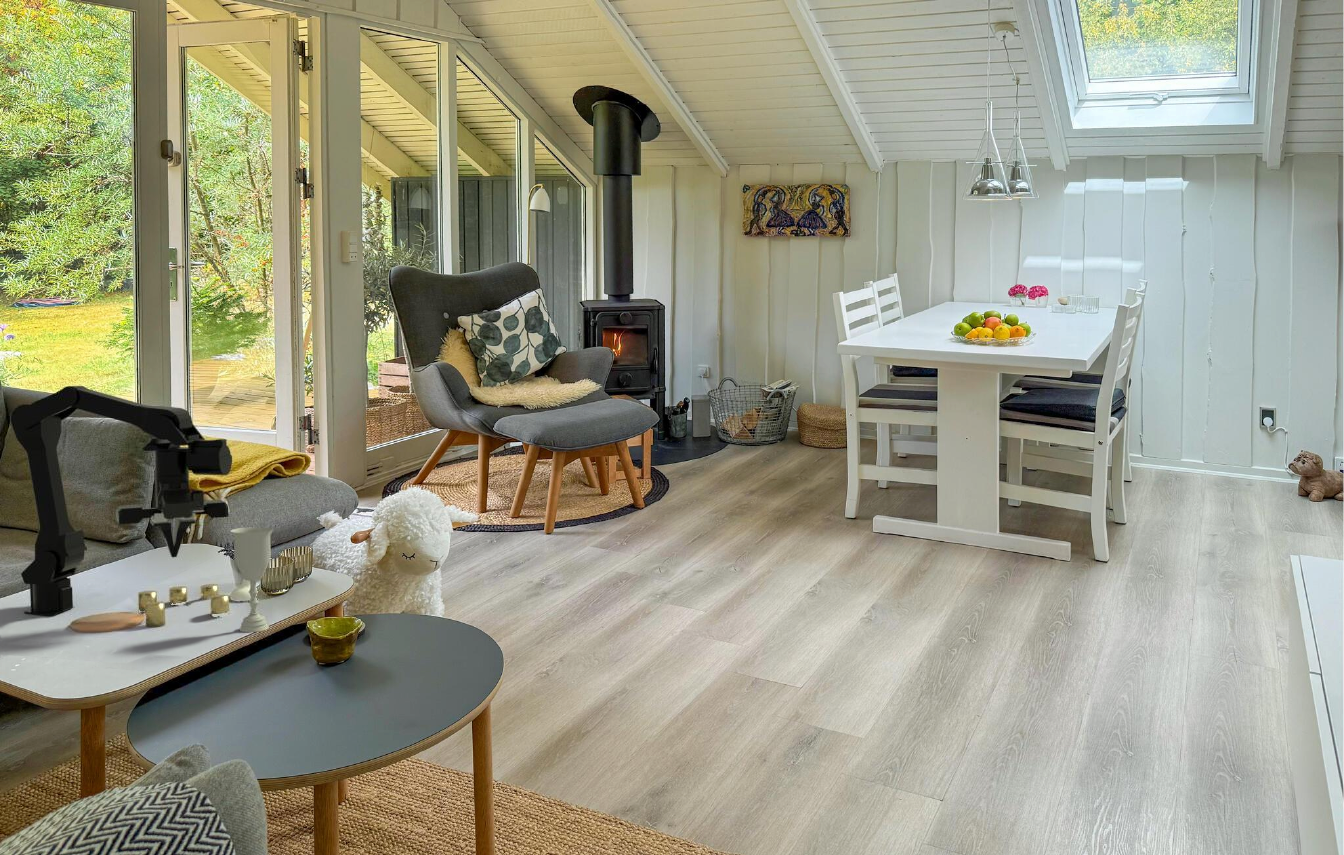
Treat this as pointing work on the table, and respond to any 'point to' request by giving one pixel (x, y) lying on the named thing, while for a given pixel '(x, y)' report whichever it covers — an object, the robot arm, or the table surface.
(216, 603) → the spacer field
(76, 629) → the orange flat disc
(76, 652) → the table surface
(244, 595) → the cream white mushroom
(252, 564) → the chalice
